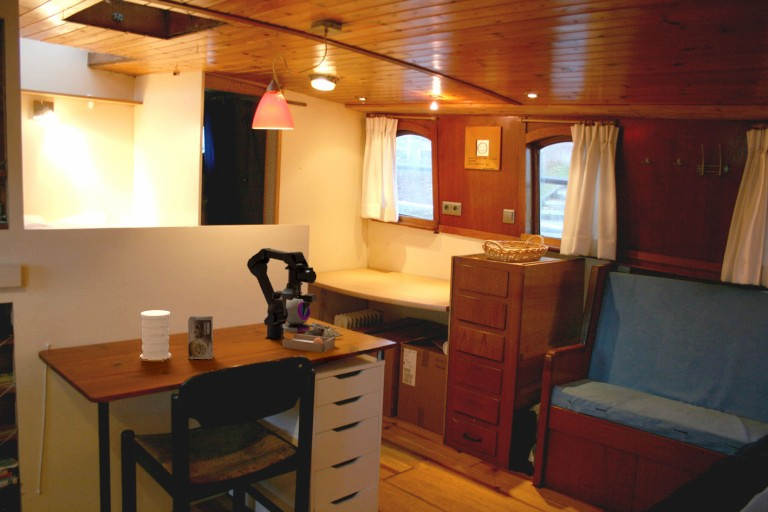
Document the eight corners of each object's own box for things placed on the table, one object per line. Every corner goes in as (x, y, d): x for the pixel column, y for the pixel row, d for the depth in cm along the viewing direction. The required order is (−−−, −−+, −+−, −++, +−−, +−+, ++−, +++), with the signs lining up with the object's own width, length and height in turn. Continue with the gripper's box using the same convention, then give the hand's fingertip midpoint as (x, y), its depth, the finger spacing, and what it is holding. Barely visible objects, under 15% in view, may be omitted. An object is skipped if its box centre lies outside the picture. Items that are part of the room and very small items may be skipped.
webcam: (297, 333, 305) (298, 302, 304) (276, 329, 312) (277, 298, 311) (314, 329, 316) (315, 298, 315) (294, 325, 323) (295, 295, 321)
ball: (319, 338, 278) (321, 347, 279) (323, 335, 282) (325, 344, 283) (311, 339, 280) (313, 348, 280) (314, 337, 283) (316, 346, 284)
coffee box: (213, 355, 263) (213, 316, 261) (211, 360, 257) (212, 319, 255) (189, 355, 261) (189, 315, 260) (187, 360, 255) (187, 319, 253)
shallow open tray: (282, 347, 280) (282, 338, 279) (294, 341, 291) (294, 332, 291) (323, 352, 274) (323, 343, 274) (334, 346, 285) (334, 337, 285)
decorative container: (168, 362, 251) (168, 316, 249) (136, 362, 249) (136, 315, 247) (173, 354, 263) (173, 310, 261) (142, 354, 261) (142, 309, 259)
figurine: (327, 319, 314) (353, 326, 304) (326, 332, 315) (352, 339, 304) (296, 323, 299) (322, 330, 288) (295, 336, 299) (321, 343, 289)
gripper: (266, 281, 281) (266, 317, 282) (306, 285, 275) (305, 321, 277) (278, 277, 291) (277, 312, 293) (317, 281, 286) (316, 316, 287)
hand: (293, 315), depth 287 cm, fingers open, 9 cm apart
